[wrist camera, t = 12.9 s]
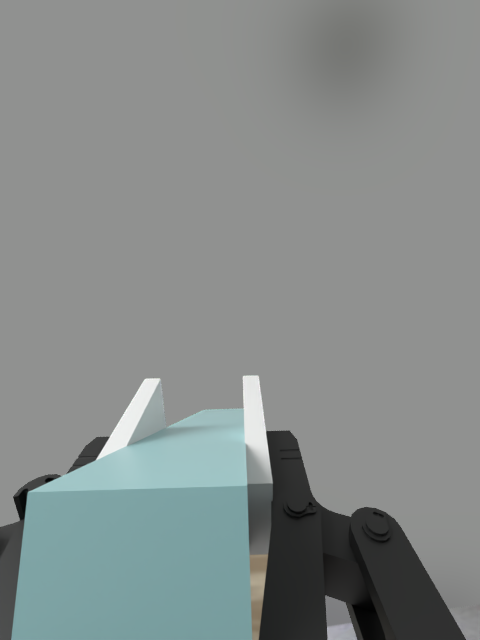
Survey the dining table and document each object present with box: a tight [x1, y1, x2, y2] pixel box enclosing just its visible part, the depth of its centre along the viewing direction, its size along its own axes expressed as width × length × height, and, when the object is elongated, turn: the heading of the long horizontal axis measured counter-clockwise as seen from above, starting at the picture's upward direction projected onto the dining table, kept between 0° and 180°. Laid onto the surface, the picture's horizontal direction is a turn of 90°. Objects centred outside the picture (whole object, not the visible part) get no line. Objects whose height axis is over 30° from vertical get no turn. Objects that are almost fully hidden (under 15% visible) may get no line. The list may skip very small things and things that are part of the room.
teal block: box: [11, 409, 252, 640], centre depth 18 cm, size 26×4×3 cm, turn 179°
